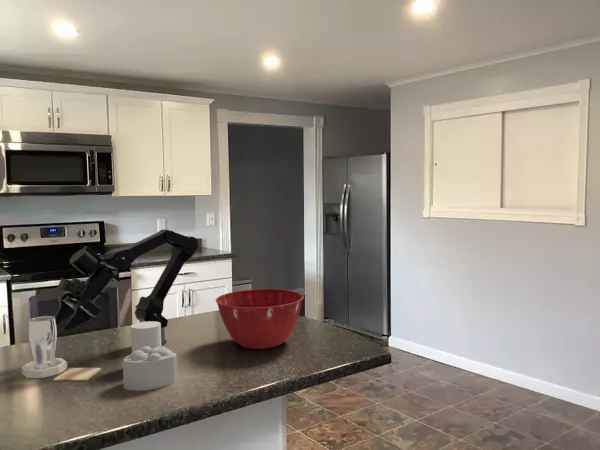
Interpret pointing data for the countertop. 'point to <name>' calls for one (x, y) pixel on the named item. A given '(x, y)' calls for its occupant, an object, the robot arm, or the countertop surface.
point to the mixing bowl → (260, 316)
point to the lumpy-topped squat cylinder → (149, 368)
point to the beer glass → (43, 341)
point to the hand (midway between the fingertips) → (58, 327)
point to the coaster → (77, 374)
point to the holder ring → (41, 373)
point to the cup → (146, 335)
